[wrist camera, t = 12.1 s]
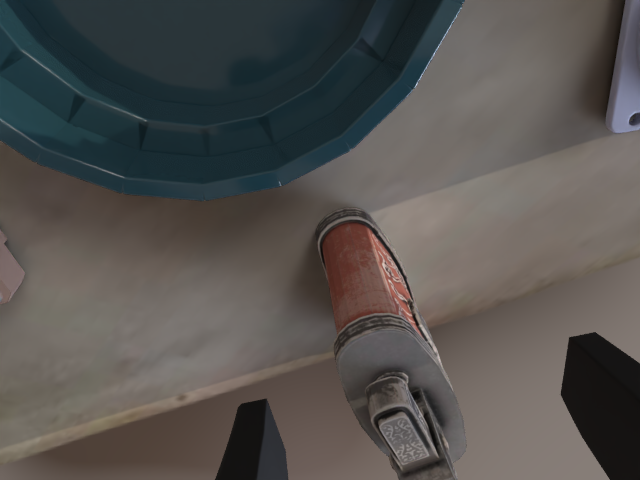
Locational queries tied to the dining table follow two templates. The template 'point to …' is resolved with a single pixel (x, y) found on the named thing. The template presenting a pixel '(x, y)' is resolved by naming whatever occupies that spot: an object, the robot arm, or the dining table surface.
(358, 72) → the bowl
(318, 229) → the lighter
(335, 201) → the dining table surface
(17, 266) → the clamp
